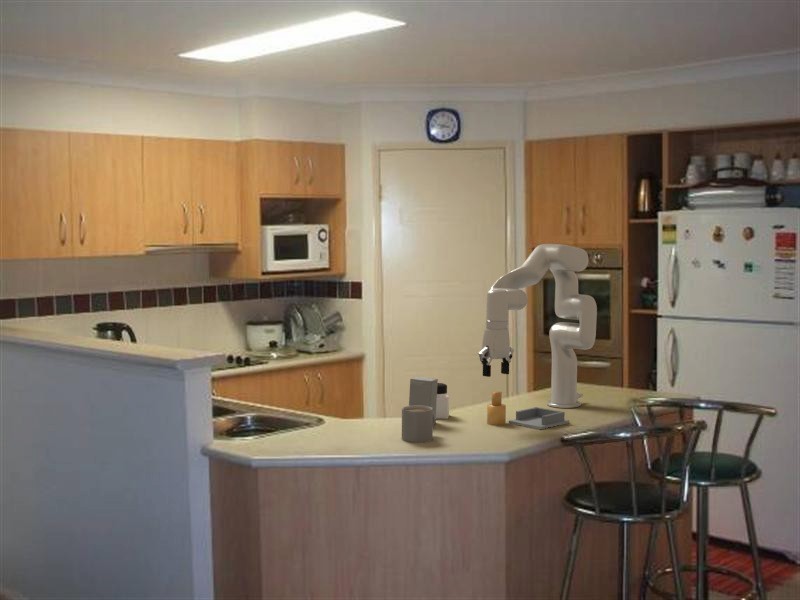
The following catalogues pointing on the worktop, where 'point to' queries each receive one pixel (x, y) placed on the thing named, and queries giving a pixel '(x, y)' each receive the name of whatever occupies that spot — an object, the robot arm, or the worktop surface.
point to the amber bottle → (496, 410)
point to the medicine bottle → (442, 402)
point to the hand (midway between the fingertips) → (495, 375)
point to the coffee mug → (417, 423)
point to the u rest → (539, 418)
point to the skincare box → (423, 392)
